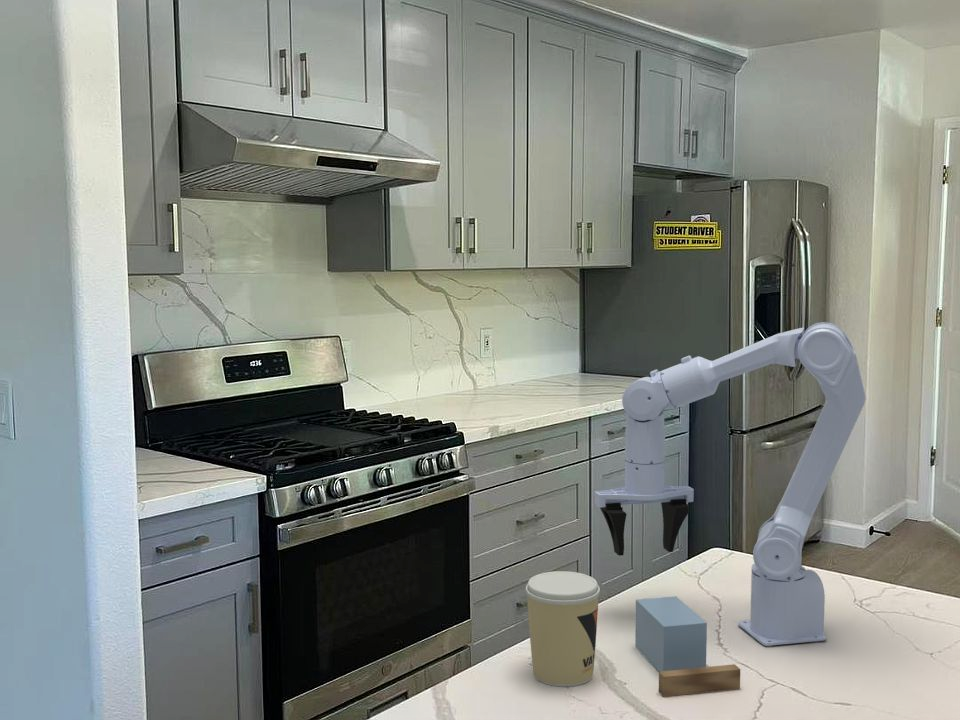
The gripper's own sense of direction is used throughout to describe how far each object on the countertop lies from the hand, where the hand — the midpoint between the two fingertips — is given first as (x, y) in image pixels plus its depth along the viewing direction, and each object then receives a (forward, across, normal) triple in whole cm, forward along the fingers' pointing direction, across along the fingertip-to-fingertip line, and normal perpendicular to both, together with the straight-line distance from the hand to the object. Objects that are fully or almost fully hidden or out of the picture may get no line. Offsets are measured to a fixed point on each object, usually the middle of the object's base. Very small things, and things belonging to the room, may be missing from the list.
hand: (643, 551), depth 139 cm
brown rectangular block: (+10, +2, +24) cm, 26 cm away
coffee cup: (+10, +17, +16) cm, 25 cm away
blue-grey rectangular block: (+10, +2, +15) cm, 18 cm away
